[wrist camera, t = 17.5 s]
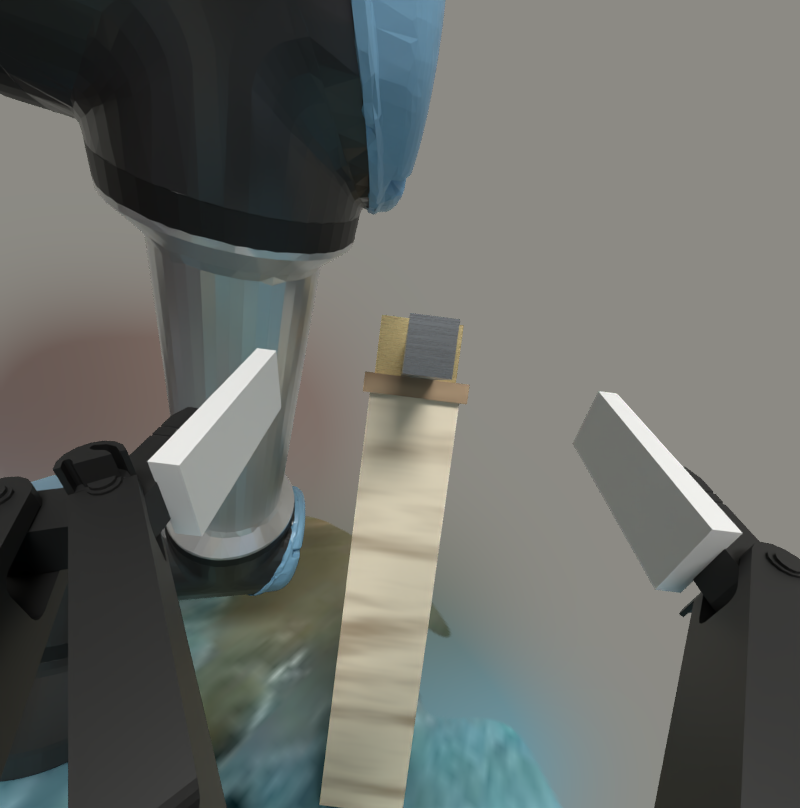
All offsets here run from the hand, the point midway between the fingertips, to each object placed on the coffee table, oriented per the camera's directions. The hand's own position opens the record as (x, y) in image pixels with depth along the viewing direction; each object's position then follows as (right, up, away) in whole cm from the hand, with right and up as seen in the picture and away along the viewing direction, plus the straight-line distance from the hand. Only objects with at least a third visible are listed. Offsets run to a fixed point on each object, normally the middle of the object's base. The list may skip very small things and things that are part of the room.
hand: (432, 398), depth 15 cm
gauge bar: (0, +2, +12) cm, 12 cm away
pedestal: (-5, -34, +18) cm, 39 cm away
